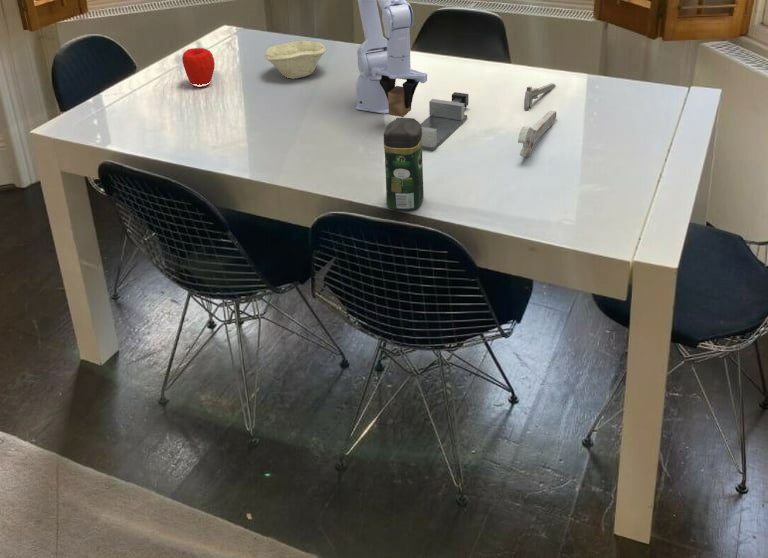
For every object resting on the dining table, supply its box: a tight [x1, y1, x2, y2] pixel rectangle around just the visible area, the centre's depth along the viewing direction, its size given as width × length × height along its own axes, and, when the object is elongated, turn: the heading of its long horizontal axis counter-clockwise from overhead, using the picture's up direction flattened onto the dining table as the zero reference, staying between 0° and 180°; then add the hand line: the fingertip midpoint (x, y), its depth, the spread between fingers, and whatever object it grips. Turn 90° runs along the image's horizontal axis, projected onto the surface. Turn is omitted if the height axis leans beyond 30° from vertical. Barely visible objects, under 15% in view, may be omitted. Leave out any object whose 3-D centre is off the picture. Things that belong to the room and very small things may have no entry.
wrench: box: [517, 110, 557, 157], centre depth 227 cm, size 8×2×30 cm
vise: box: [420, 114, 468, 152], centre depth 235 cm, size 9×22×5 cm, turn 154°
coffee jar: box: [383, 117, 425, 212], centre depth 199 cm, size 10×8×19 cm
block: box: [388, 85, 412, 118], centre depth 236 cm, size 4×5×6 cm
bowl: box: [263, 40, 327, 80], centre depth 273 cm, size 14×18×15 cm
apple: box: [181, 47, 216, 85], centre depth 269 cm, size 9×9×11 cm
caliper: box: [523, 82, 557, 111], centre depth 252 cm, size 20×1×6 cm, turn 149°
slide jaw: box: [428, 91, 469, 120], centre depth 244 cm, size 9×11×4 cm
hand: (400, 105), depth 237 cm, fingers closed on block, 4 cm apart
